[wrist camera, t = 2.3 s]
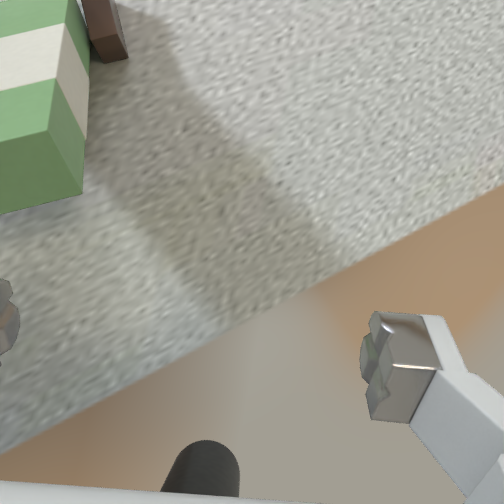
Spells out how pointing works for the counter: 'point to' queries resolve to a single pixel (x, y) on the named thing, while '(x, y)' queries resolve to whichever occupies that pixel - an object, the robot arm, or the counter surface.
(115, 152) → the counter surface
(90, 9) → the stand
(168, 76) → the counter surface
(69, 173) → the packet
